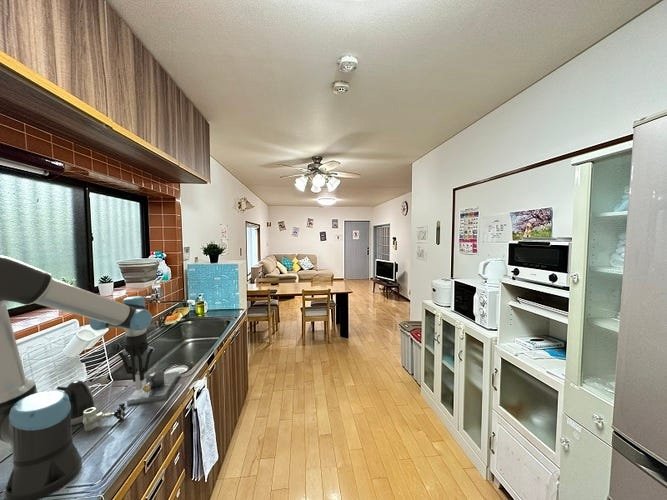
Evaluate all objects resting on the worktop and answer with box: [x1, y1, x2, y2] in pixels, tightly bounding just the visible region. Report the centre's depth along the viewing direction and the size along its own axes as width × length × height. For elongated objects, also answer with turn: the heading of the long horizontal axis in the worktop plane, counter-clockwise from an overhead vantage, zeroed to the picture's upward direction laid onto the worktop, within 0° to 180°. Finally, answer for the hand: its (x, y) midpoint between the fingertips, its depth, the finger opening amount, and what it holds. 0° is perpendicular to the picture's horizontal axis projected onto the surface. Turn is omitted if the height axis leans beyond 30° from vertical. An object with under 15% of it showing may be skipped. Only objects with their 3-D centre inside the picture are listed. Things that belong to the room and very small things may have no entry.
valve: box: [82, 402, 127, 432], centre depth 104 cm, size 7×7×12 cm
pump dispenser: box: [56, 380, 96, 426], centre depth 107 cm, size 10×10×15 cm
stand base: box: [126, 367, 180, 406], centre depth 129 cm, size 22×14×6 cm, turn 15°
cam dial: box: [143, 369, 165, 392], centre depth 126 cm, size 16×7×5 cm, turn 15°
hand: (139, 388), depth 121 cm, fingers closed
